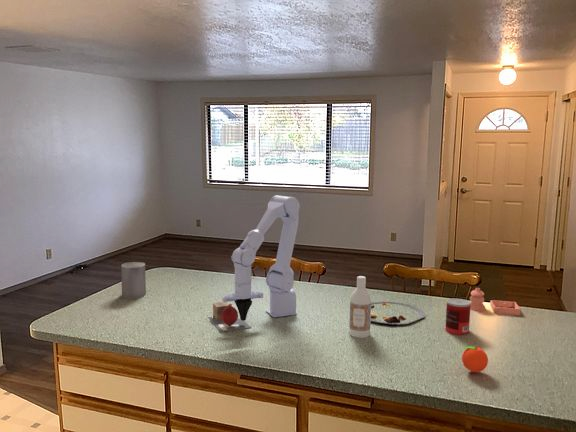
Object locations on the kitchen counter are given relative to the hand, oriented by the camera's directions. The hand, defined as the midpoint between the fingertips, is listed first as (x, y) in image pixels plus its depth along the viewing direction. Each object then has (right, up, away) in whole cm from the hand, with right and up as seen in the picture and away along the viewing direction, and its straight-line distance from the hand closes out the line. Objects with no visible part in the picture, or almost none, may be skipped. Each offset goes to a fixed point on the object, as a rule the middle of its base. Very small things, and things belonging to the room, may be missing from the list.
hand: (243, 319), depth 177 cm
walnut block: (-9, -1, +7) cm, 11 cm away
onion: (-4, -2, -2) cm, 5 cm away
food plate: (+54, -2, +11) cm, 55 cm away
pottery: (+94, -1, +15) cm, 95 cm away
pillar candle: (-49, +3, +33) cm, 59 cm away
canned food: (+74, -4, -5) cm, 74 cm away
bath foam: (+40, -4, -8) cm, 41 cm away
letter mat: (-6, -1, +3) cm, 7 cm away
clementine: (+68, -8, -35) cm, 77 cm away
